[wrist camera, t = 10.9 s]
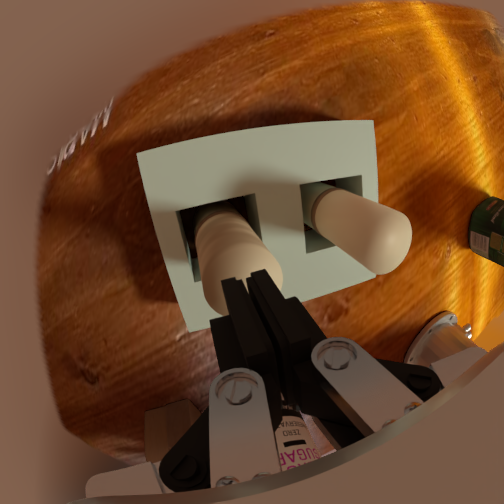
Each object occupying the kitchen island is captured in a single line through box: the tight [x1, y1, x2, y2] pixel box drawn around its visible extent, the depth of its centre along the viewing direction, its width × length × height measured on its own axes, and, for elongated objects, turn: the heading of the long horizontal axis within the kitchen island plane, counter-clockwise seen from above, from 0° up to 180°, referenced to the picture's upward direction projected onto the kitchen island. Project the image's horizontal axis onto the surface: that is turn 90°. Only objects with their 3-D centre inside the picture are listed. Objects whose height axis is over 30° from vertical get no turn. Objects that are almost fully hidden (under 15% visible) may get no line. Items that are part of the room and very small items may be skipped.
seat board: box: [136, 120, 412, 332], centre depth 17 cm, size 16×13×10 cm
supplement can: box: [275, 393, 322, 471], centre depth 24 cm, size 8×8×15 cm
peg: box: [193, 200, 283, 316], centre depth 16 cm, size 4×4×10 cm
